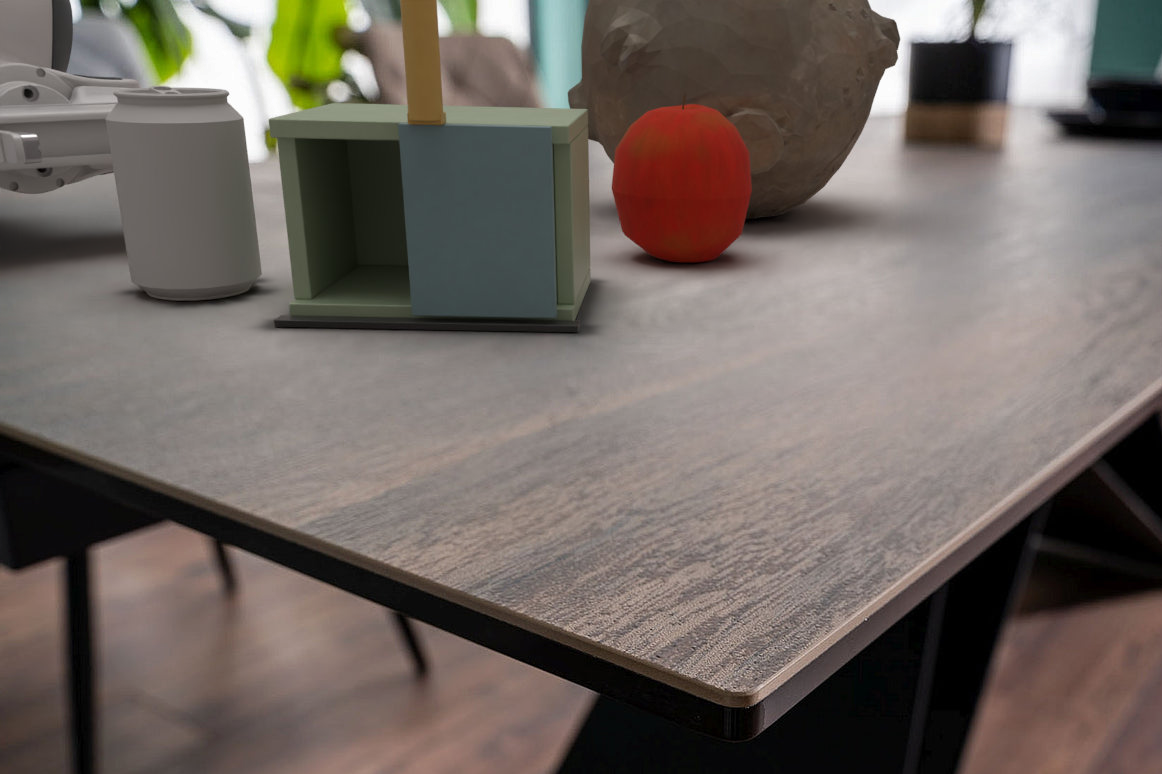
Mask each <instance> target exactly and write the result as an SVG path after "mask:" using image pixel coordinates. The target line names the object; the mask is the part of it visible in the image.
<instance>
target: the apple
mask: <svg viewBox="0 0 1162 774" xmlns="http://www.w3.org/2000/svg"><path fill="white" fill-rule="evenodd" d="M685 99H686V95H685V94H684V99H683V105H681V106H671V107H661V108H657V109H654V110H651V111H647V112H646V113H645V114H644V115H643V116H641V117H640V118H639V119H638V120H637V121H635V122H634V123H633V124H632V125H631V126H630V127H629V129H628V130H627V132H626V133H625V135H624V136H623V138H622V140H621V141H620V143H619V144H618V146H617V147H616V149H615V158H614V163H613V169H612V178H611V179H612V181H611V191H612V196H613V200H614V203H615V209H616V213H617V217H618V220H619V224H620V228H621V233H622V234H623V235H624V236H625V237H627V238H628V239H629V240H630V241H632V242H633V243H634V244H635V245H636V246H638V247H640V249H642V250H643V251H644V252H645V253H647V254H648V255H650V256H652V257H654V258H657V259H660V260H664V261H666V262H675V263H703V262H710V261H714V260H717V258H719V257H720V256H721V255H722V254H723V253H724V252H725V251H726V250H727V249H728V248H729V247H730V246H731V245H732V244H733V243H734V242H735V241H736V240H737V239H738V238H739V237H741V236H742V235H743V231H744V226H745V222H746V219H745V218H746V214H747V209H748V205H749V200H750V196H751V191H752V187H751V172H750V158H749V151H748V149H747V147H746V145H745V143H744V141H743V140H742V138H741V136H740V134H739V132H738V130H737V128H736V127H735V126H734V125H733V124H732V123H731V122H730V121H729V120H728V119H726V118H725V117H724V116H723V115H722V114H721V113H720V112H719V111H717V110H715V109H712V108H709V107H706V106H703V105H698V104H689V105H684V104H685Z"/></svg>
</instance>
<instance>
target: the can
mask: <svg viewBox="0 0 1162 774" xmlns="http://www.w3.org/2000/svg"><path fill="white" fill-rule="evenodd" d="M113 94H114V95H115V96H116V97H117V100H118V103H117V104H116V105H115V107H114V108H113V109H112V111H111V112H110V113H109V114H108V116H107V117H106V126H107V132H108V138H109V145H110V151H111V157H112V163H113V170H114V173H113V176H114V181H115V187H116V194H117V201H118V207H119V213H120V219H121V227H122V232H123V239H124V244H125V251H126V256H127V264H128V270H129V276H130V282H131V283H132V284H134V285H135V286H137V287H138V288H140V289H141V290H143V291H145V293H146V294H147V296H149V297H151V298H153V299H154V298H155V299H159V300H164V301H179V302H182V301H183V302H185V301H188V302H192V301H193V302H194V301H207V300H217V299H225V298H229V297H234V296H238V295H241V294H243V293H247V292H248V291H249V290H250V289H251V288H252V287H251V286H252V285H253V284H254V283H255V282H256V281H257V280H258V279H259V278H260V277H261V276H262V275H263V272H262V263H261V262H262V261H261V255H260V246H259V238H258V237H259V236H258V228H257V221H256V213H255V205H254V196H253V188H252V180H251V170H250V163H249V162H250V161H249V154H248V144H247V137H246V136H247V135H246V127H245V119H244V116H242V114H241V113H239V112H238V111H237V110H236V109H235V108H234V107H233V106H232V105H231V103H229V102H228V97H229V96H230V91H228V89H227V90H226V89H221V88H212V87H211V88H209V87H208V88H207V87H171V86H168V85H167V86H166V85H151V86H149V87H141V88H131V89H120V90H115V91H114V93H113Z"/></svg>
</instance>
